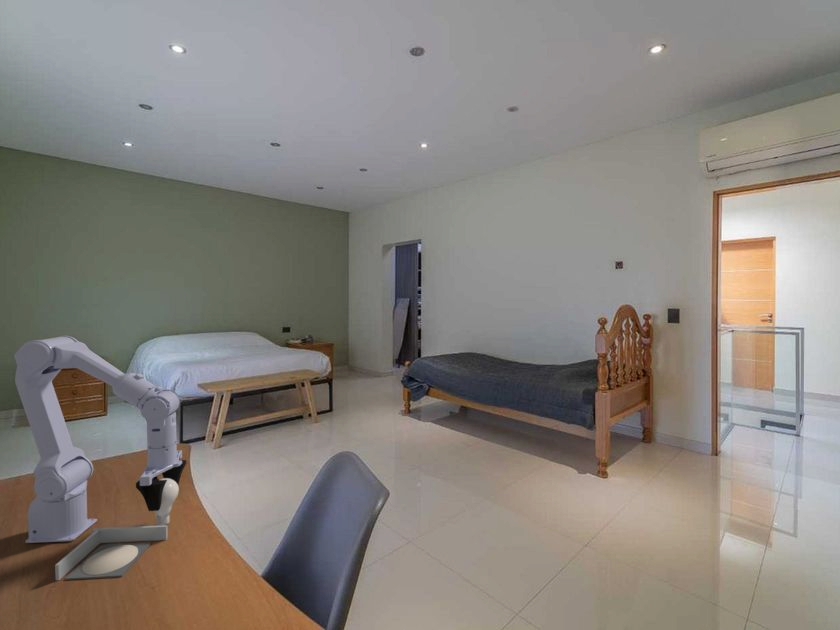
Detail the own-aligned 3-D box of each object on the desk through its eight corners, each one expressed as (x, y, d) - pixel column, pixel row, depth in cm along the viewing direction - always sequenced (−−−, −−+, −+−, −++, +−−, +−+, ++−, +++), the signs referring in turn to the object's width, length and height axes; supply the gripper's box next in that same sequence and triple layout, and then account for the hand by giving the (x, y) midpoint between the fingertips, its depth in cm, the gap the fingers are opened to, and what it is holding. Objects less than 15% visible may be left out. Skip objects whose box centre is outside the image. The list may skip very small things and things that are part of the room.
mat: (64, 579, 75) (64, 577, 75) (101, 546, 85) (101, 544, 85) (121, 576, 76) (121, 574, 76) (151, 543, 86) (151, 542, 86)
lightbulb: (163, 535, 89) (162, 487, 88) (139, 531, 90) (139, 484, 90) (185, 519, 95) (185, 474, 95) (163, 516, 97) (162, 472, 96)
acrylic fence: (50, 580, 75) (49, 565, 75) (94, 541, 86) (94, 528, 86) (135, 576, 76) (135, 561, 76) (167, 538, 88) (167, 525, 88)
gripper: (163, 456, 85) (165, 517, 86) (194, 432, 99) (195, 485, 100) (128, 457, 84) (130, 519, 85) (164, 433, 99) (165, 486, 99)
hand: (163, 501), depth 93 cm, fingers open, 7 cm apart
